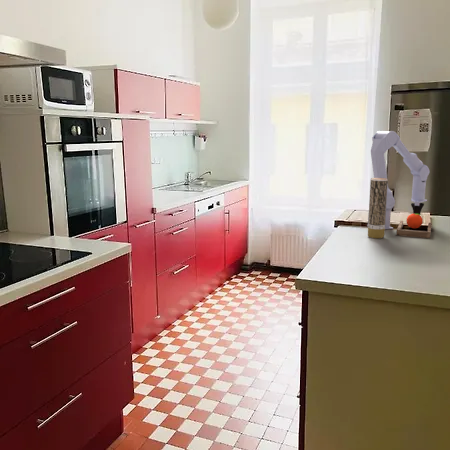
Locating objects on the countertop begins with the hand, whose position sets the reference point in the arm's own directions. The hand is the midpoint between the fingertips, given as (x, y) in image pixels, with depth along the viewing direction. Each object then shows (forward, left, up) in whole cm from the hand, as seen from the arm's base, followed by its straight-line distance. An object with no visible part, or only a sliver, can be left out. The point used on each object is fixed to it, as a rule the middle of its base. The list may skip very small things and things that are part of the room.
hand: (416, 218), depth 224 cm
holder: (-8, -14, -3) cm, 16 cm away
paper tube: (-29, -21, -3) cm, 36 cm away
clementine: (-4, -7, -3) cm, 9 cm away
